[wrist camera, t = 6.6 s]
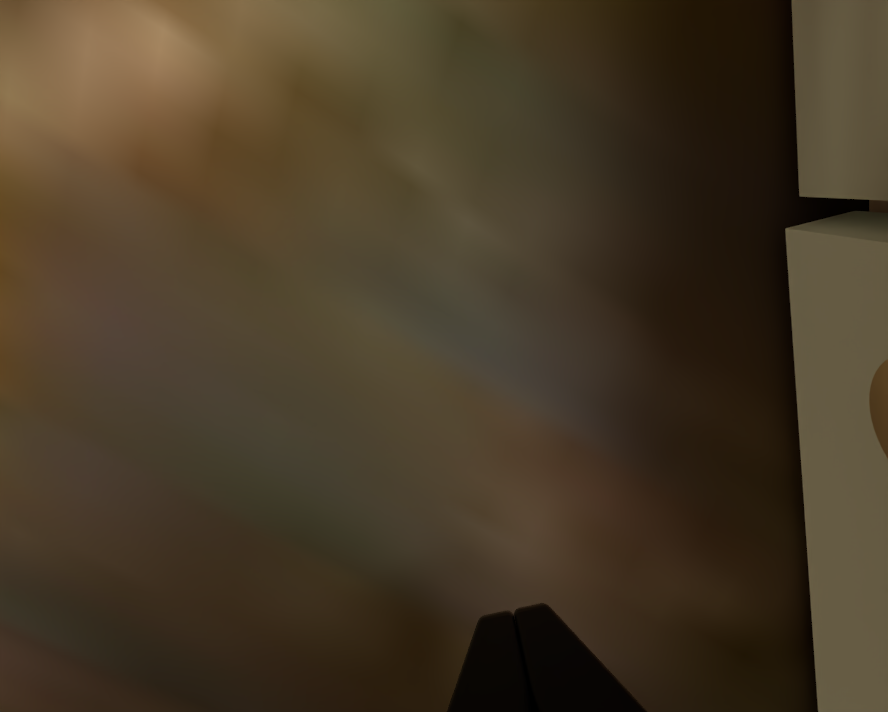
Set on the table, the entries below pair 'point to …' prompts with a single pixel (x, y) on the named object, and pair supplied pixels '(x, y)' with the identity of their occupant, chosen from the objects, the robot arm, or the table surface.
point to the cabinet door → (844, 448)
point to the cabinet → (842, 99)
